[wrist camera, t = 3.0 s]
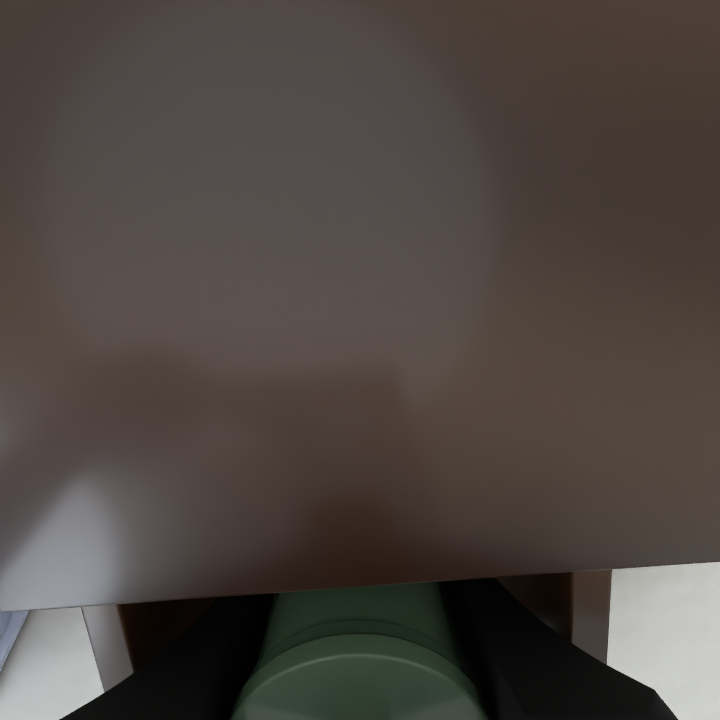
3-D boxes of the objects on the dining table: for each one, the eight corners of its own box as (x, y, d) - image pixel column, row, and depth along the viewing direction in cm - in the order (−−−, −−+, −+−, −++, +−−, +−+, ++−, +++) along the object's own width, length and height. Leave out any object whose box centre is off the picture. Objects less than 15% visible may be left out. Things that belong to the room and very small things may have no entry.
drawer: (522, 732, 18) (619, 1015, 11) (237, 750, 18) (164, 1037, 11) (523, 340, 14) (670, 411, 7) (163, 369, 14) (-10, 465, 8)
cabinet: (530, 397, 15) (735, 561, 7) (169, 426, 16) (-52, 618, 7) (533, -55, 12) (904, -729, 4) (84, -9, 13) (-472, -549, 4)
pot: (386, 635, 15) (411, 979, 8) (254, 571, 15) (149, 878, 7) (468, 521, 14) (583, 796, 7) (329, 447, 14) (294, 662, 6)
